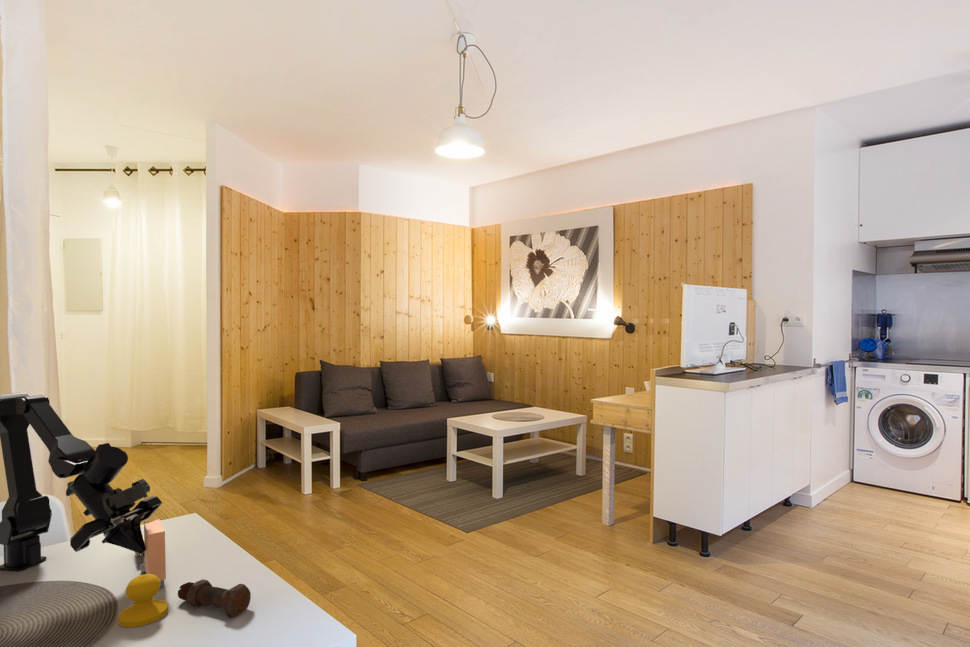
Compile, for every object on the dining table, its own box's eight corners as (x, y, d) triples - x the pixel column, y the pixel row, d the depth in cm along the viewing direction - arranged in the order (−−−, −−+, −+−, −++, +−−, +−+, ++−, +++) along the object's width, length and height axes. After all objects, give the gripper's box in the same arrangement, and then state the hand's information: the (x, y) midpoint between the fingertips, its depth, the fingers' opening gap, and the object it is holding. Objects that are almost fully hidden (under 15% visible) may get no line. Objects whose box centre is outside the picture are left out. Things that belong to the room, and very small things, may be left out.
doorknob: (175, 603, 108) (157, 625, 100) (131, 607, 107) (109, 629, 99) (174, 565, 108) (156, 584, 100) (130, 568, 107) (108, 588, 99)
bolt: (187, 607, 110) (244, 619, 104) (167, 605, 106) (224, 618, 100) (199, 576, 113) (255, 586, 107) (179, 572, 109) (236, 583, 103)
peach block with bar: (145, 590, 112) (144, 535, 112) (136, 554, 130) (135, 507, 130) (169, 584, 115) (168, 530, 115) (157, 550, 133) (157, 503, 132)
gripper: (82, 484, 108) (131, 544, 106) (155, 460, 126) (198, 511, 124) (48, 521, 109) (96, 582, 108) (125, 492, 128) (167, 543, 126)
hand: (143, 551), depth 116 cm, fingers closed
